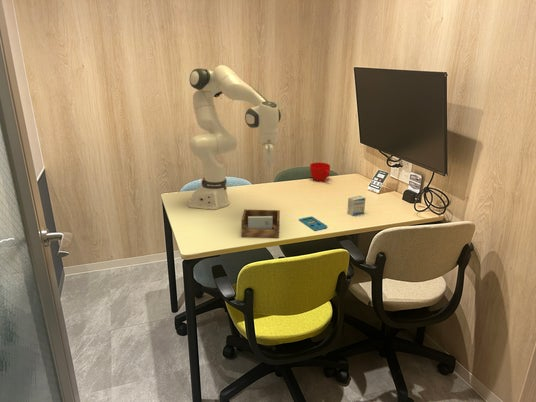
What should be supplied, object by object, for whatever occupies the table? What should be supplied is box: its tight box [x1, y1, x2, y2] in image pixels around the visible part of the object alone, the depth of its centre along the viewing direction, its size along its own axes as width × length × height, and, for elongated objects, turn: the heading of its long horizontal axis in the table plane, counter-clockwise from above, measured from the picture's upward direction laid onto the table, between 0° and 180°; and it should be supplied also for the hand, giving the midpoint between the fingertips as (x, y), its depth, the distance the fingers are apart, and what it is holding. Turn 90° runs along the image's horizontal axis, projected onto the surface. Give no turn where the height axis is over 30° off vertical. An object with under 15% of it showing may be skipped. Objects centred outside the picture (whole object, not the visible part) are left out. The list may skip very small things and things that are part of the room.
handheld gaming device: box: [298, 216, 328, 232], centre depth 193 cm, size 8×1×15 cm
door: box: [248, 216, 272, 230], centre depth 179 cm, size 11×3×8 cm, turn 92°
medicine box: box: [346, 195, 366, 217], centre depth 205 cm, size 8×4×9 cm, turn 117°
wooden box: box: [240, 208, 281, 239], centre depth 184 cm, size 17×14×8 cm
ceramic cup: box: [309, 162, 331, 182], centre depth 255 cm, size 13×17×10 cm
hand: (268, 166), depth 189 cm, fingers open, 8 cm apart
